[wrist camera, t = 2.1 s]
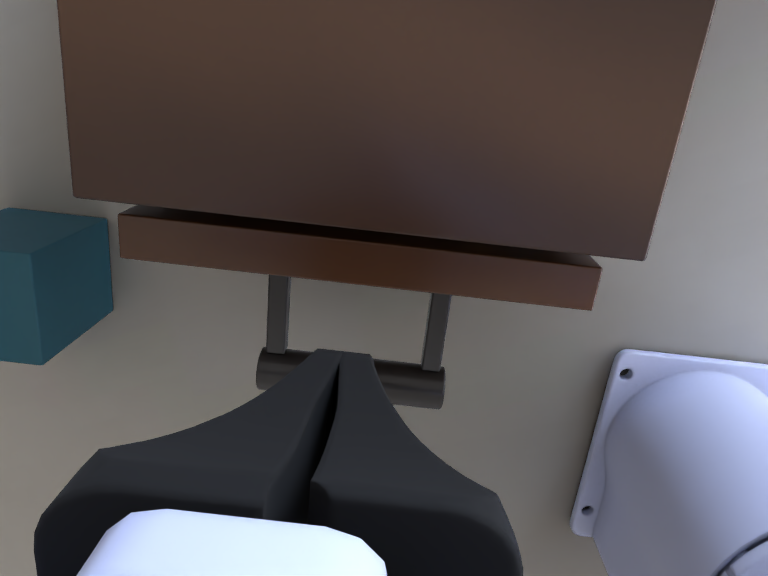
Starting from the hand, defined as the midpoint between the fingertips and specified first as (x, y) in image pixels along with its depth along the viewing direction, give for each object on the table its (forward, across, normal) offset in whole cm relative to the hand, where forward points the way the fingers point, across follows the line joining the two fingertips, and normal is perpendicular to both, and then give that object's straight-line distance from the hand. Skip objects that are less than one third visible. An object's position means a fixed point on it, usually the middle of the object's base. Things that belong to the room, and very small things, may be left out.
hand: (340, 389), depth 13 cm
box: (+10, +12, +2) cm, 16 cm away
